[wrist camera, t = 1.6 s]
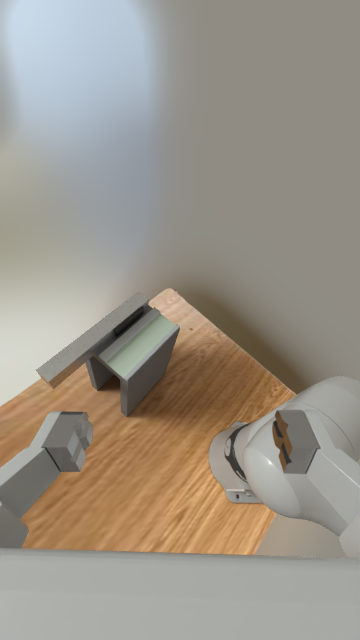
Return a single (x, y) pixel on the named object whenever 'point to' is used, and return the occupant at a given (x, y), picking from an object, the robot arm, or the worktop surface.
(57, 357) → the brushed metal post
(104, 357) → the tall grey pillar
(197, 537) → the worktop surface
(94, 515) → the worktop surface
